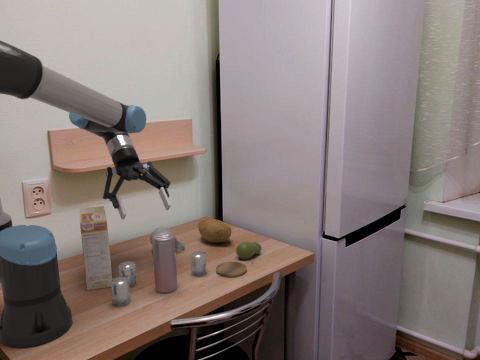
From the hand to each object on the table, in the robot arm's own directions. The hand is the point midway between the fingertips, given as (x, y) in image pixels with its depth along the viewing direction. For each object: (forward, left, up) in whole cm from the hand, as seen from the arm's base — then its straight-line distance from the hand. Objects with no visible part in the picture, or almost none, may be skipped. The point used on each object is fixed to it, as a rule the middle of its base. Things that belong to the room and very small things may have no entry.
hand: (147, 212), depth 121 cm
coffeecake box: (-14, -5, -19) cm, 24 cm away
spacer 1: (-1, -17, -19) cm, 25 cm away
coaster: (+23, +6, -19) cm, 30 cm away
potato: (+12, +29, -19) cm, 37 cm away
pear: (+26, +19, -19) cm, 37 cm away
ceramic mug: (-2, +19, -19) cm, 27 cm away
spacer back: (-4, -7, -19) cm, 21 cm away
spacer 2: (+14, +3, -19) cm, 24 cm away
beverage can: (+8, -8, -19) cm, 22 cm away
